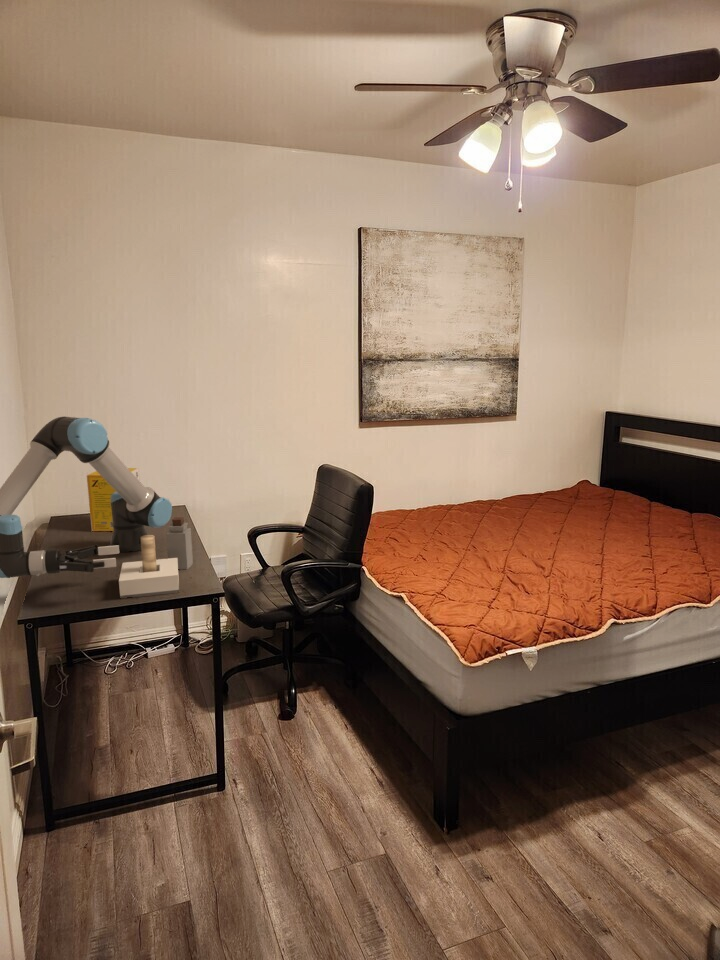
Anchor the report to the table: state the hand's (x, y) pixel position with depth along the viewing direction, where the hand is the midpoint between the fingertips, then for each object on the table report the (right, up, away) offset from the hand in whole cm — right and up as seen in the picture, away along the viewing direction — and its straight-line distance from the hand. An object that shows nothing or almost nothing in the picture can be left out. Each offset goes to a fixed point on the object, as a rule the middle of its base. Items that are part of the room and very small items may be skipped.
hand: (117, 555), depth 208 cm
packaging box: (-28, +4, +75) cm, 80 cm away
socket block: (+9, -11, +5) cm, 15 cm away
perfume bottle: (+14, -7, +24) cm, 28 cm away
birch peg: (+9, -10, +5) cm, 14 cm away
